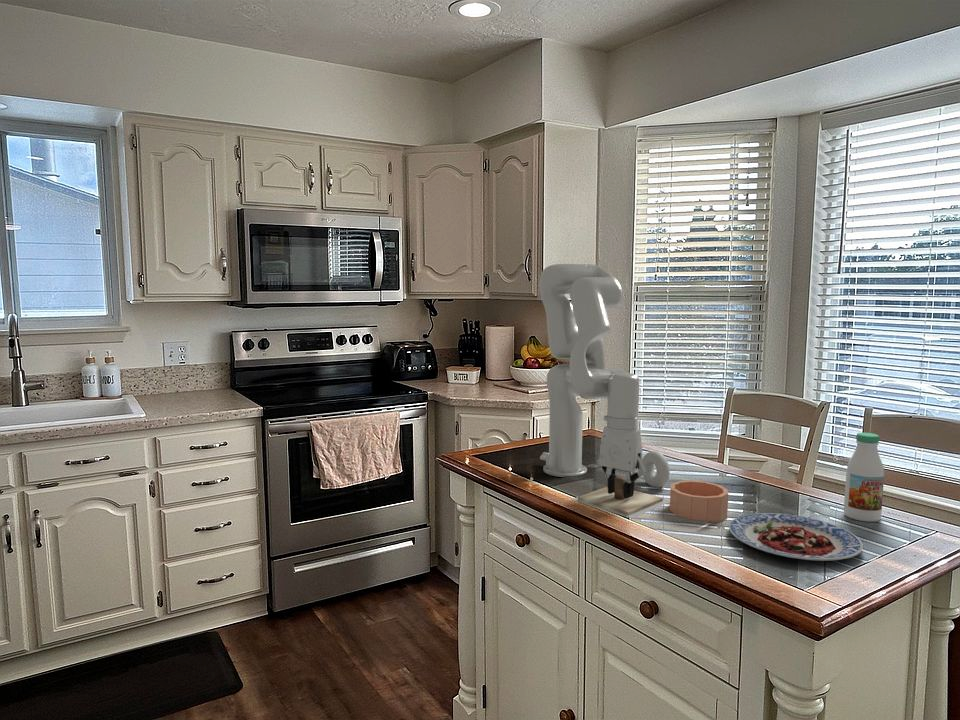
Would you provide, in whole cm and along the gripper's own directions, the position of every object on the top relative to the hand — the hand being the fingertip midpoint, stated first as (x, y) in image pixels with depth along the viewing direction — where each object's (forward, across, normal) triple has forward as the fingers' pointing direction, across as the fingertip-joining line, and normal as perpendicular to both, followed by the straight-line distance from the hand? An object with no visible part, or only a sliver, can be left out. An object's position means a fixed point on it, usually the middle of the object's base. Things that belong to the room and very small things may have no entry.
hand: (620, 494), depth 166 cm
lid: (+2, 0, 0) cm, 2 cm away
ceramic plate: (+3, +40, +6) cm, 40 cm away
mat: (+2, 0, 0) cm, 2 cm away
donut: (+3, -1, +18) cm, 18 cm away
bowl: (+2, +17, +8) cm, 19 cm away
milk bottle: (+3, +45, +34) cm, 56 cm away
